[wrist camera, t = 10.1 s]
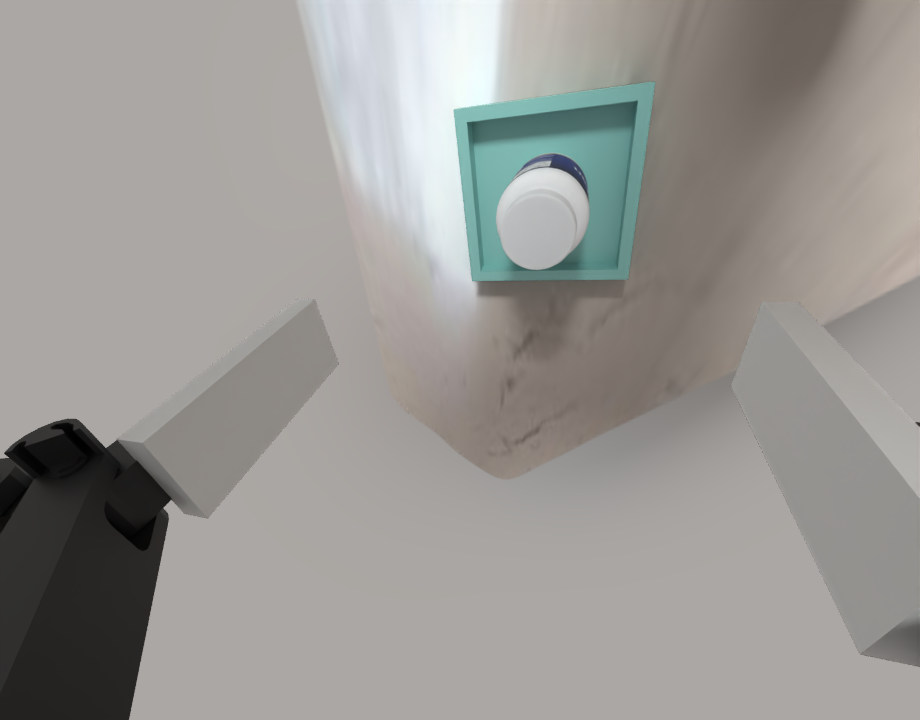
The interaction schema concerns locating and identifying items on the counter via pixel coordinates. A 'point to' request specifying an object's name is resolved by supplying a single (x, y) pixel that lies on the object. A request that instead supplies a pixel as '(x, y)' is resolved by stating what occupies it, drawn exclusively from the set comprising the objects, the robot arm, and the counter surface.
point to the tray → (569, 133)
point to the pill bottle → (543, 211)
